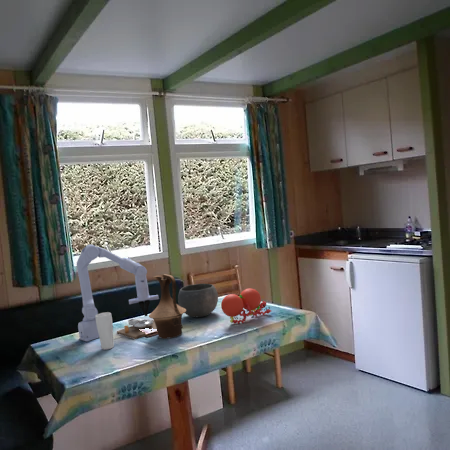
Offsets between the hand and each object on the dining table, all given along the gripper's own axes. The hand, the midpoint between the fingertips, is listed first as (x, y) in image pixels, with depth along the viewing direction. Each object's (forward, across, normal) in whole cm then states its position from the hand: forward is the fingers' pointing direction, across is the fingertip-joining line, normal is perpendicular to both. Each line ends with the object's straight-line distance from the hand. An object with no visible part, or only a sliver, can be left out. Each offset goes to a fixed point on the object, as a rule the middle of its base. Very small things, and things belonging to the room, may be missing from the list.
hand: (146, 315), depth 229 cm
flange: (+3, +4, +6) cm, 7 cm away
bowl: (+5, -27, +1) cm, 27 cm away
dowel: (+4, +10, +11) cm, 15 cm away
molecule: (+5, -45, +24) cm, 51 cm away
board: (+5, +2, +8) cm, 10 cm away
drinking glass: (+5, +19, +25) cm, 32 cm away
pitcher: (+5, -8, +24) cm, 26 cm away
